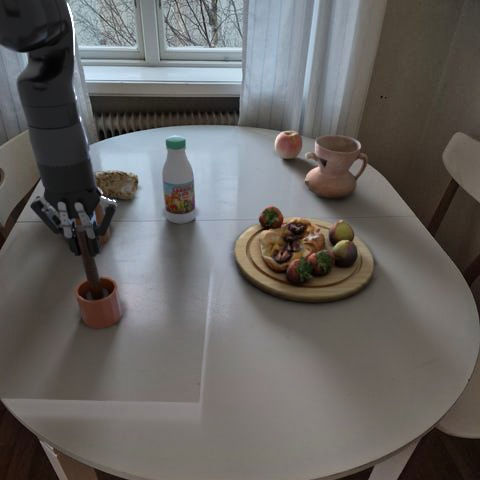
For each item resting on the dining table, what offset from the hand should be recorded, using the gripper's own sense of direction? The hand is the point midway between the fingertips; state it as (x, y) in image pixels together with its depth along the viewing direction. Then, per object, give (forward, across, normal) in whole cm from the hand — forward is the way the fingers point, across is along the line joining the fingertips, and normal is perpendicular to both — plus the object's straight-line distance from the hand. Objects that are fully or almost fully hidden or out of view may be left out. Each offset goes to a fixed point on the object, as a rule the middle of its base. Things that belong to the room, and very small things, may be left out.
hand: (87, 253), depth 73 cm
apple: (+15, +42, +80) cm, 92 cm away
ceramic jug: (+15, +53, +56) cm, 79 cm away
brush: (+14, 0, 0) cm, 14 cm away
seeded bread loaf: (+15, -12, +48) cm, 52 cm away
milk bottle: (+15, +11, +39) cm, 43 cm away
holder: (+15, 0, 0) cm, 15 cm away
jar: (+15, -10, +28) cm, 33 cm away
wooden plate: (+15, +41, +21) cm, 48 cm away
